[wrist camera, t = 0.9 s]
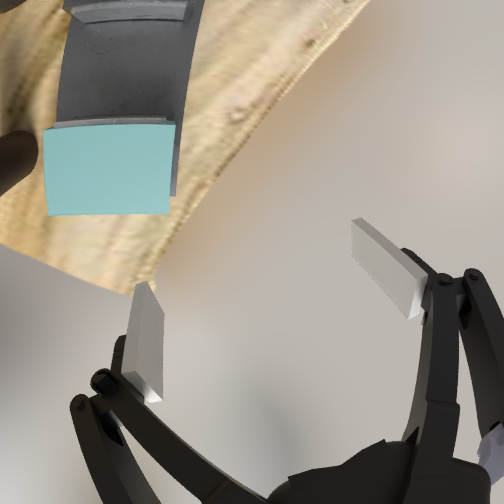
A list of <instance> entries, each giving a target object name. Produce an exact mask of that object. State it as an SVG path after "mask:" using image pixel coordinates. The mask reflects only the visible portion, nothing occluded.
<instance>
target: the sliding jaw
mask: <svg viewBox="0 0 504 504" xmlns="http://www.w3.org/2000/svg"><path fill="white" fill-rule="evenodd" d="M175 127H176V125H175V121H169V120H166V116H160V115H118V116H95V117H81V118H69V119H65V120H62V121H58V122H55V123H53V127H51V128H48V129H46V130H43V155H44V176H45V189H46V199H47V208H48V216H62V215H99V214H169V197H170V181H171V168H172V156H173V145H174V136H175Z"/></svg>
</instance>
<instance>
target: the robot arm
mask: <svg viewBox="0 0 504 504" xmlns="http://www.w3.org/2000/svg"><path fill="white" fill-rule="evenodd" d="M25 1H26V0H0V14H1V13H4V12H7V11H9V10H11V9H13V8H15V7H17V6H19V5H20V4H22V3H23V2H25ZM351 228H352V257H353V258H354V259H355V260H356V261H357V262H358V263H359V264H360V265H361V266H362V267H363V268H364V270H365V271H366V272H367V273H368V274H369V275H370V276H371V277H372V278H373V280H374V281H375V282H376V283H377V284H378V285H379V286H380V287H381V289H382V290H383V291H384V292H385V293H386V294H387V295H388V297H389V298H390V299H391V300H392V301H393V302H394V304H395V305H396V306H397V307H398V308H399V310H400V311H401V312H402V313H403V314H404V315H405V317H406V318H407V319H408V320H409V319H411V318H412V317H415V316H416V315H418V314H419V311H420V307H422V308H423V309H424V310H425V312H424V315H423V319H422V322H421V325H423V330H422V342H421V352H420V360H419V367H418V375H417V381H416V386H415V393H414V398H413V402H412V407H411V412H410V416H409V420H408V424H407V427H406V430H405V432H404V434H403V437H402V440H401V441H392V442H386V441H385V439H383V440H381V441H379V442H377V443H375V444H373V445H371V446H369V447H367V448H365V449H362V450H361V451H360V452H358V453H357V454H356V455H354V456H353V457H351V458H350V459H349V460H347V461H346V462H344V463H343V464H341V465H339V466H334V467H326V468H317V469H311V470H308V471H305V472H302V473H299V474H295V475H292V476H289V477H288V479H289V480H288V481H286V482H284V483H283V484H282V485H280V486H278V487H277V488H276V489H275V490H274V491H273V492H272V493H271V494H270V496H269V497H268V498H267V499H266V498H264V497H263V496H261V495H259V494H258V493H256V492H254V491H253V490H251V489H249V488H247V487H246V486H244V485H243V484H241V483H239V482H238V481H236V480H235V479H233V478H232V477H231V476H229V475H228V474H226V473H225V472H223V471H222V470H220V469H219V468H218V467H216V466H215V465H214V464H212V463H211V462H210V461H208V460H207V459H206V458H204V457H203V456H202V455H201V454H199V453H198V452H197V451H196V450H194V449H193V448H192V447H191V446H189V445H188V444H187V443H186V442H185V441H184V440H182V439H181V438H180V437H179V436H177V434H175V433H174V432H173V431H172V430H171V429H170V428H169V427H168V426H166V425H165V424H164V423H163V422H162V421H161V420H160V419H159V418H158V417H157V416H156V415H155V414H154V413H153V412H152V411H151V410H150V409H149V408H148V407H147V406H146V405H144V398H145V399H147V400H148V401H149V402H150V403H151V402H158V401H163V335H164V312H163V310H162V308H161V307H160V305H159V303H158V301H157V300H156V297H155V295H154V294H153V292H152V290H151V288H150V286H149V284H148V282H147V281H146V282H143V283H139V284H136V287H135V292H134V297H133V302H132V307H131V312H130V317H129V323H128V329H127V334H126V335H122V336H119V337H118V339H117V341H116V343H115V346H114V353H113V359H112V364H111V370H109V369H105V368H104V369H100V370H98V371H97V372H96V373H95V374H94V375H93V377H92V379H91V384H90V385H91V387H92V389H93V390H94V391H95V392H96V393H97V395H95V396H92V397H90V398H88V397H87V396H86V395H84V394H79V395H76V396H75V397H74V398H73V400H72V401H71V403H70V412H71V416H72V420H73V424H74V427H75V431H76V434H77V437H78V441H79V444H80V447H81V450H82V453H83V456H84V459H85V461H86V464H87V467H88V469H89V472H90V475H91V477H92V479H93V482H94V484H95V486H96V489H97V491H98V493H99V496H100V498H101V500H102V502H103V504H161V502H160V501H159V499H158V498H157V496H156V495H155V493H154V492H153V490H152V488H151V486H150V485H149V483H148V482H147V480H146V478H145V476H144V475H143V473H142V471H141V469H140V467H139V466H138V464H137V462H136V460H135V458H134V456H133V454H132V453H131V450H130V448H129V446H128V444H127V442H126V440H125V438H124V436H123V434H122V432H121V429H120V427H121V426H123V425H124V426H125V428H126V429H127V430H128V431H129V432H130V433H131V435H132V436H133V437H134V438H135V439H136V440H137V441H138V442H139V443H140V444H141V446H142V447H143V448H144V449H145V450H146V451H147V452H148V453H149V454H150V455H151V456H152V457H153V458H154V459H155V460H156V461H157V462H158V463H159V464H160V465H161V466H162V467H163V468H164V469H165V470H166V471H167V472H168V473H169V474H170V475H171V476H172V477H173V478H174V479H176V480H177V481H178V482H179V483H180V484H181V485H182V486H184V487H185V488H186V489H187V490H188V491H190V492H191V493H192V494H193V495H194V496H195V497H197V498H198V499H199V500H200V501H201V503H202V504H490V491H491V486H492V485H493V484H494V483H495V482H497V481H498V480H499V479H500V478H501V477H503V476H504V318H503V315H502V313H501V311H500V308H499V306H498V304H497V302H496V299H495V298H494V295H493V293H492V291H491V289H490V287H489V285H488V283H487V281H486V279H485V277H484V275H483V274H482V273H481V272H480V271H479V270H477V269H474V268H469V269H467V270H465V272H464V276H463V277H459V278H452V277H451V276H450V275H448V274H445V273H439V274H438V273H437V272H436V271H434V270H433V269H432V268H431V267H430V266H429V265H428V264H427V263H425V262H424V261H422V259H421V258H420V257H418V256H417V255H416V254H415V253H414V252H413V251H411V250H408V249H406V248H402V249H399V248H398V247H397V246H395V245H394V244H393V243H392V242H391V241H390V240H388V239H387V238H386V237H385V236H384V235H382V234H381V233H380V232H379V231H377V230H376V229H375V228H374V227H372V226H371V225H370V224H369V223H367V222H366V221H365V220H364V219H362V218H358V219H355V220H352V221H351ZM459 331H460V335H461V338H462V342H463V346H464V349H465V353H466V357H467V362H468V366H469V370H470V375H471V380H472V386H473V391H474V397H475V403H476V411H477V419H478V425H479V430H480V434H481V438H482V440H481V442H480V445H479V449H478V451H477V455H478V457H480V459H479V463H478V464H475V463H471V462H468V461H464V460H461V459H457V458H453V452H454V447H455V441H456V436H457V430H458V423H459V415H460V405H459V404H458V403H457V402H456V398H457V386H458V369H459V368H458V367H459Z"/></svg>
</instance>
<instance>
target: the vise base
mask: <svg viewBox="0 0 504 504" xmlns="http://www.w3.org/2000/svg"><path fill="white" fill-rule="evenodd" d="M204 1H205V0H65V1H64V4H63V7H62V9H63V10H65V11H66V12H67V13H68V14H70V15H71V16H72V18H71V22H70V26H69V31H68V35H67V40H66V45H65V50H64V55H63V61H62V68H61V75H60V83H59V92H58V103H57V120H56V122H58V121H62V120H65V119H69V118H81V117H95V116H118V115H160V116H166V120H169V121H175V125H176V127H175V136H174V145H173V156H172V168H171V181H170V196H176V182H177V170H178V159H179V148H180V139H181V130H182V122H183V114H184V107H185V100H186V93H187V86H188V80H189V74H190V68H191V62H192V57H193V52H194V46H195V41H196V36H197V32H198V27H199V22H200V18H201V14H202V9H203V5H204Z"/></svg>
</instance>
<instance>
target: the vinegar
mask: <svg viewBox="0 0 504 504" xmlns="http://www.w3.org/2000/svg"><path fill="white" fill-rule="evenodd" d="M37 156H38V150H37V145H36V142H35V139H34V138H33V137H32V136H31V134H29V133H27V132H26V131H16V132H13V133H10V134H7V135H4V136H2V137H0V197H1V196H2V195H3V194H4V193H5V192H7V191H8V190H9V189H10V188H12V187H13V186H14V185H16V184H17V183H18V182H20V181H21V180H22V179H24V178H25V177H26V176H28V175H29V174H30V173H31V172H32V170H33V169H34V167H35V164H36V162H37Z"/></svg>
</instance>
